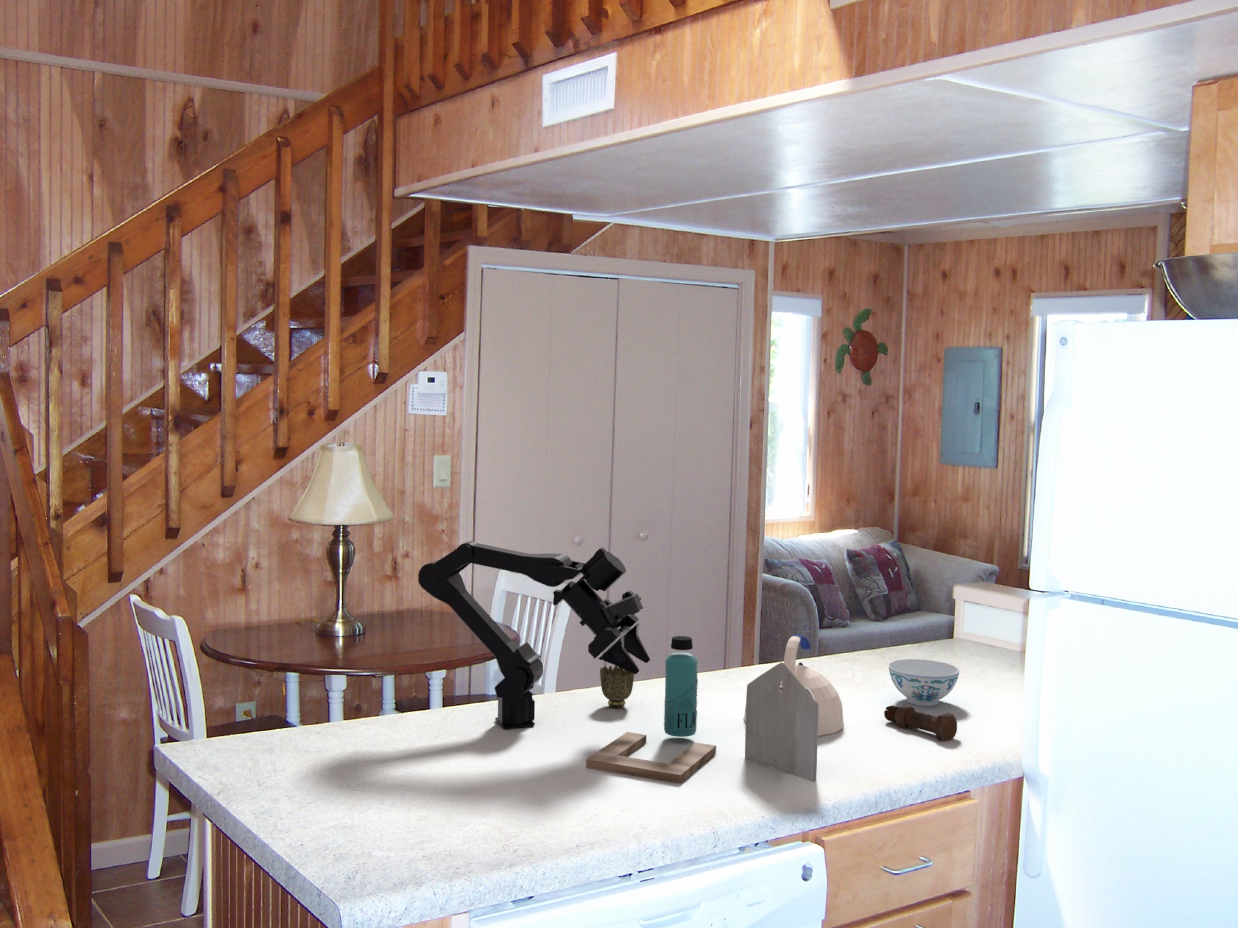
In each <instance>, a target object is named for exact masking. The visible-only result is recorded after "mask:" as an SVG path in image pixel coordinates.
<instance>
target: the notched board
mask: <svg viewBox="0 0 1238 928" xmlns="http://www.w3.org/2000/svg"><path fill="white" fill-rule="evenodd" d="M645 744H647V734H642V733H637V732H630V731H627V732H625V733H623V734H622V735H620V736H619V737H617V738H616V739H615V740H613V741H611V742H609V744H607V745H606V746H604V747H602V748H600V750H598V751H596V752H595V753H593V754H592V755H590V756H588V757H587V758H586V759H585V760H586V761H585V764H586V765H585V768H587V769H593V770H599V771H605V772H610V773H616V774H617V773H618V774H623V775H629V776H635V777H640V778H647V779H653V780H658V781H665V782H670V783H675V784H680V785H681V784H683V782H684V781H685V780H687V778H689V777H691V775H693V774H694V772H696V771H698V769H699V768H701V767H702V766H704V764H705V763H706V762H709V760H710V759H711V758H713V757H714V756H715V755H716V754H717V745H714V744H707V743H700V742H694V743H693V744H692V745H690V747H688V748H687V749H685V750H684V751H683V752H682V753H681V754H678V756H677V757H676V758H674V759H673V760H672V761H670V762H669V763H667V762H661V761H655V760H650V759H649V760H648V759H642V758H637V757H631V756H630V755H631V754H633V753H634V752H635V751H637V750H638V749H639V748H641V747H643V746H644V745H645Z"/></svg>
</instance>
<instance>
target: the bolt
mask: <svg viewBox="0 0 1238 928" xmlns="http://www.w3.org/2000/svg"><path fill="white" fill-rule="evenodd" d="M883 715H884V718H885V719H886V720H887V721H888V722H892V723H895V724H896V726H897V727H898V728H901V729H905V730H906V729H910V728H914V729H918V730H922V731H925V732H929V733H933V734H934V735H935V737H936V739H937V740H938V741H941V742H948V741H951V740H953V739H954V738H955V737H956V734H957V732H958V722H957V718H956V717H955V715H954V714H953V713H950V712H945V713H942V714H937V715H938V716H936V715H932V714H928V713H925V712H920V711H916V709H915V707H913V706H912V705H911V704H910V705H909V704H904V705H901V706H896V705H889V706H888V705H887V706H886V707H885V710H884V712H883Z"/></svg>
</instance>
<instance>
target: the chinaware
mask: <svg viewBox="0 0 1238 928" xmlns="http://www.w3.org/2000/svg"><path fill="white" fill-rule="evenodd" d="M888 672H889V675H890V678H891V681H892V683H893V685H894V686H895V688H896V690H898V692H899V693H901V694H902V695H903V696H904V697H906V702H907V703H909V704H910V705H915V706H920V707H921V706H923V707H933V706H937V705H938V704H939V701H940V700H941V699H944V698H945V697H946V696H948V694H950V693H951V691H952V690H953V689H954V687H955V686H956V684H957V682H958V679H959V675H960V668H958V667H957V666H955V665H954V664H951V663H947V662H943V661H939V660H933V659H930V660H929V659H919V658H904V659H896V660H893V661H891V662H889V663H888Z"/></svg>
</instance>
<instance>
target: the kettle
mask: <svg viewBox="0 0 1238 928" xmlns="http://www.w3.org/2000/svg"><path fill="white" fill-rule="evenodd" d="M799 646H800V648H801V649H803V650H810V649H811V643H810V642H809V639H808V637H806V636H805V635H803V634H794V635H792V636H790V637H789V638H788V641H787V644H786V646H785V651H784V657H783V663H784V664H785V665H786V666H787V667H788V669H789V670H790V671H791V672H792V673H793V675H794V676H795V677H796V678H797V679H798V680H799V682H800V683H801V684H802V685H803V686H804V688H809V689H810V691H811V692H812V693H813V695H814V697H815V699H816V701H817V703H818V737H823V736H827V735H828V736H829V735H832V734H835V733H838V732H840V730H842V729H843V728H844V725H845V724H844V723H845V722H844V715H843V713H844V712H843V710H844V709H843V702H842V700H841V697H840V695H839V694H840V693H839V692H838V691H837V689H836V688H835V687H834V685H833V684H832V683H831V681H830V680H829V679H828V678H827V677H826V676H824V675H823V674H822V673H821V672H819V670H818V671H817V670H816V669H813V668H811V667H808V666H805V665H804V664H803V662H798V664H796V663H797V653H798V649H799ZM780 683H781V684H780V686H779V687H783V686H782V681H781V682H780ZM743 720H744V722H745V723H746V706H745V707H744V715H743Z"/></svg>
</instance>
